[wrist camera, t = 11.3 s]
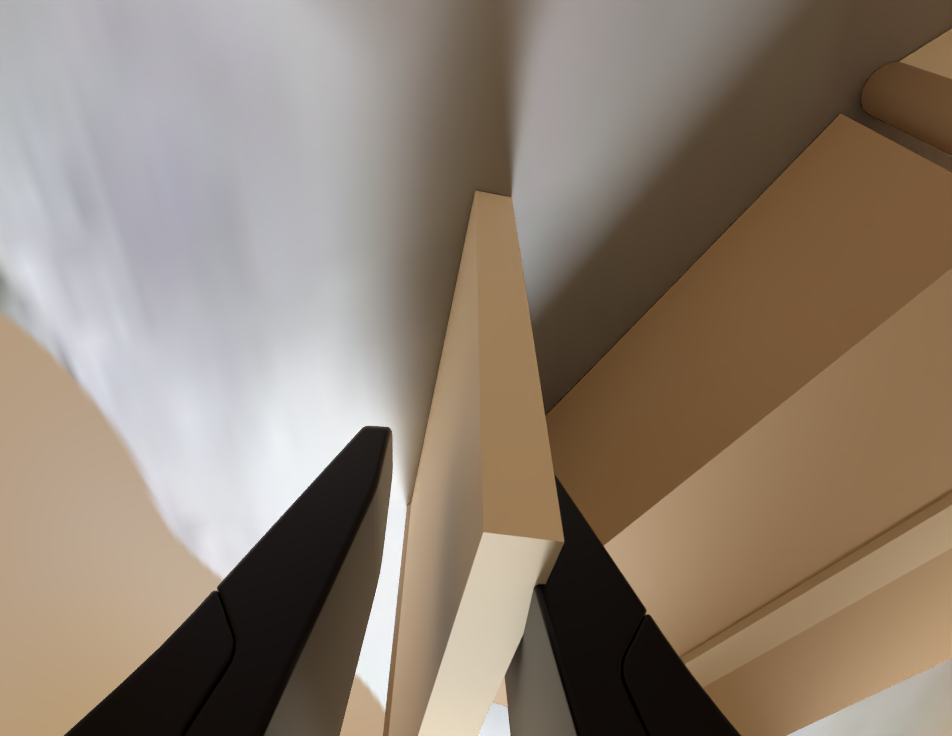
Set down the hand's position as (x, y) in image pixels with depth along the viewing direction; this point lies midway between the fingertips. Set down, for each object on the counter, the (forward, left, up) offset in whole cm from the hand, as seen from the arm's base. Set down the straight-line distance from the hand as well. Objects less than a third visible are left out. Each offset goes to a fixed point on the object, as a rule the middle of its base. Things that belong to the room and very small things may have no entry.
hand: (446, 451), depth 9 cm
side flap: (-3, -2, -6) cm, 7 cm away
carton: (0, -10, -6) cm, 11 cm away
